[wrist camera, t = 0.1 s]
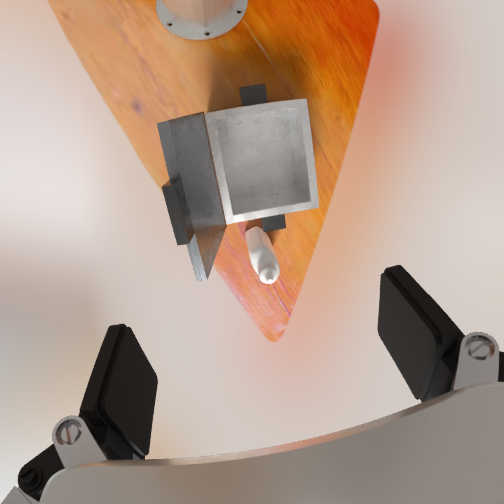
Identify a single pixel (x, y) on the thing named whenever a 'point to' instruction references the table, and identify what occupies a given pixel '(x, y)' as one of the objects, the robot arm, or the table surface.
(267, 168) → the grey rectangular box
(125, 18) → the table surface
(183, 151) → the lid
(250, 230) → the eye dropper bottle
